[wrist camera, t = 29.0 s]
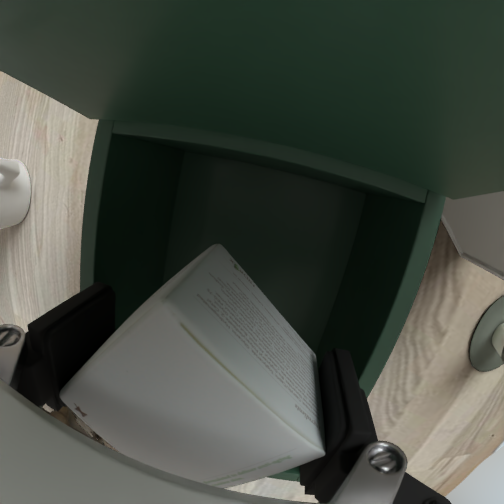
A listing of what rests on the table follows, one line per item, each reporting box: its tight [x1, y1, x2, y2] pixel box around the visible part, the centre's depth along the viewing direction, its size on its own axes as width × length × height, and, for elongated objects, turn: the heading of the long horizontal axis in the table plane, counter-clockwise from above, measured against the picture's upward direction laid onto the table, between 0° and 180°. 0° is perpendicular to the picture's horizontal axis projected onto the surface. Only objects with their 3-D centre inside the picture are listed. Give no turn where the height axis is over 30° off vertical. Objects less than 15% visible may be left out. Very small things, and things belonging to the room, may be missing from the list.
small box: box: [59, 244, 326, 489], centre depth 8 cm, size 6×6×5 cm
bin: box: [80, 119, 446, 482], centre depth 15 cm, size 16×13×9 cm
